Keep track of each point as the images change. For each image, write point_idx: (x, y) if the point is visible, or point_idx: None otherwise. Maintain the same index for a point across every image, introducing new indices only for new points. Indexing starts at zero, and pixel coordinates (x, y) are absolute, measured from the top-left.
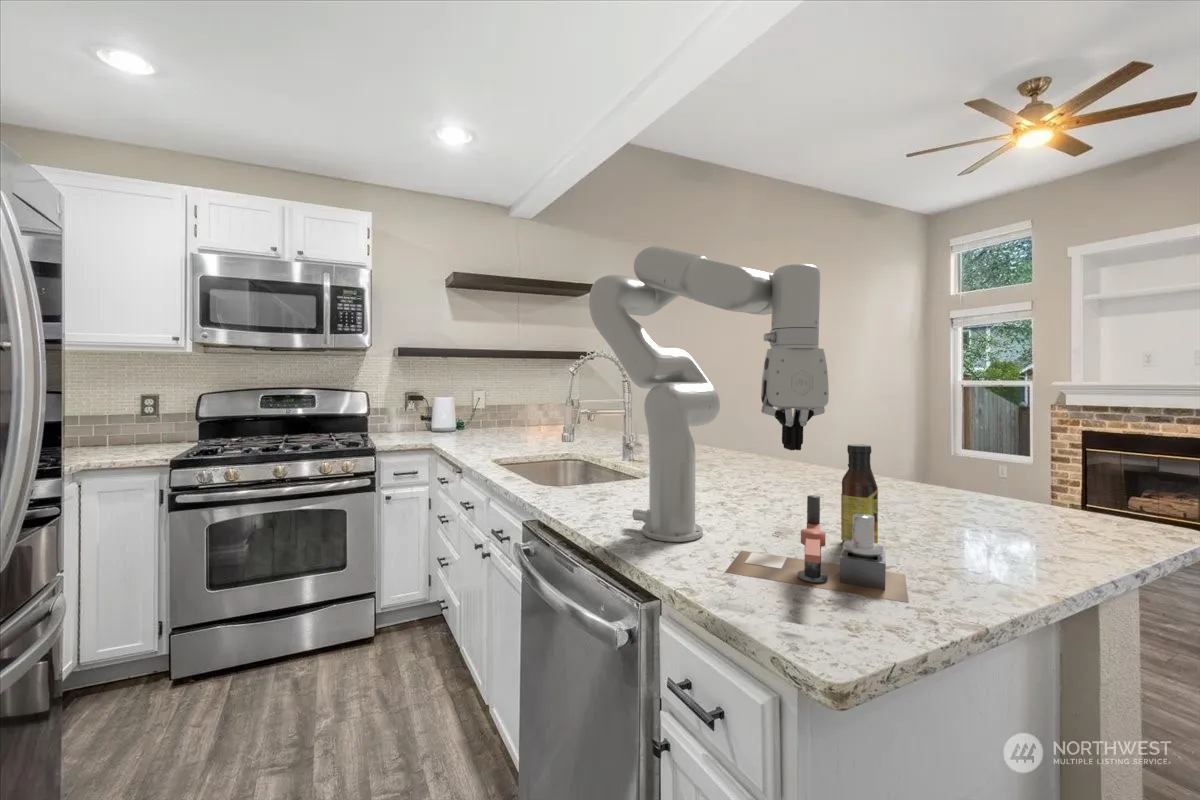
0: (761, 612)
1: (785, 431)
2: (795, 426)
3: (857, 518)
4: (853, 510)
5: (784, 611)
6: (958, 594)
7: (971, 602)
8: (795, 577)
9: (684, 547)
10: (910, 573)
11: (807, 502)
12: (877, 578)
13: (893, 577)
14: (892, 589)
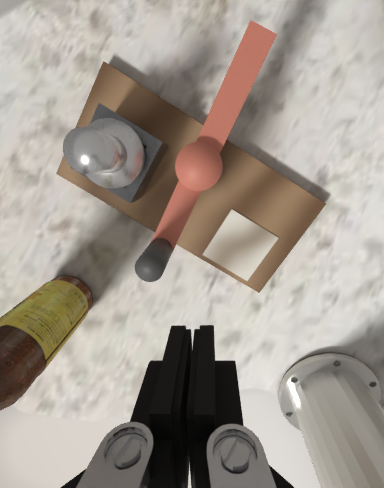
0: (324, 68)
1: (241, 418)
2: (174, 447)
3: (104, 140)
4: (48, 318)
5: (288, 69)
6: (11, 116)
7: (8, 86)
8: (225, 172)
9: (330, 332)
10: (40, 199)
11: (165, 265)
12: (118, 114)
13: None
14: None
